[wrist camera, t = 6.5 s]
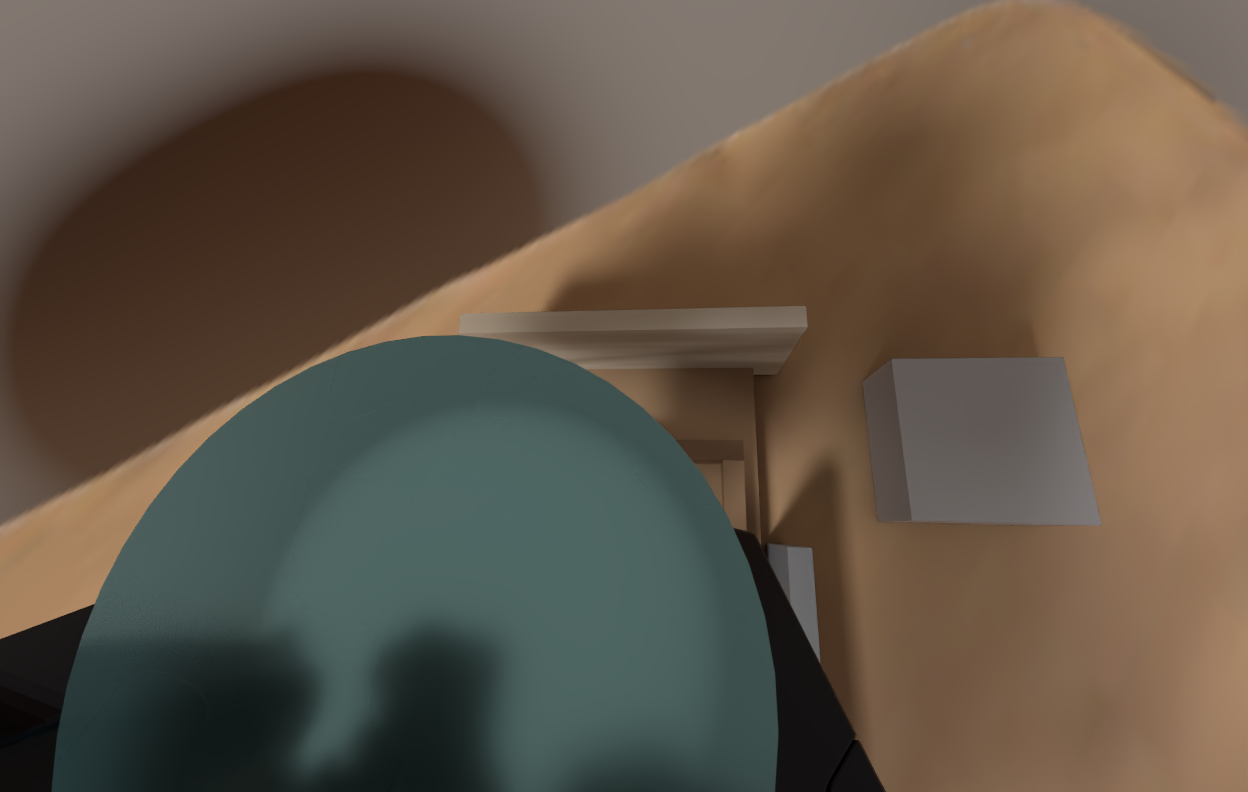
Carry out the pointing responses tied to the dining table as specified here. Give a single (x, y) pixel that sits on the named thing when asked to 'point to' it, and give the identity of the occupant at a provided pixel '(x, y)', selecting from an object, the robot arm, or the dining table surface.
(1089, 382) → the dining table surface
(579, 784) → the teal cylinder
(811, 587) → the grey open box
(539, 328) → the beige piece
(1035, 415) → the block
